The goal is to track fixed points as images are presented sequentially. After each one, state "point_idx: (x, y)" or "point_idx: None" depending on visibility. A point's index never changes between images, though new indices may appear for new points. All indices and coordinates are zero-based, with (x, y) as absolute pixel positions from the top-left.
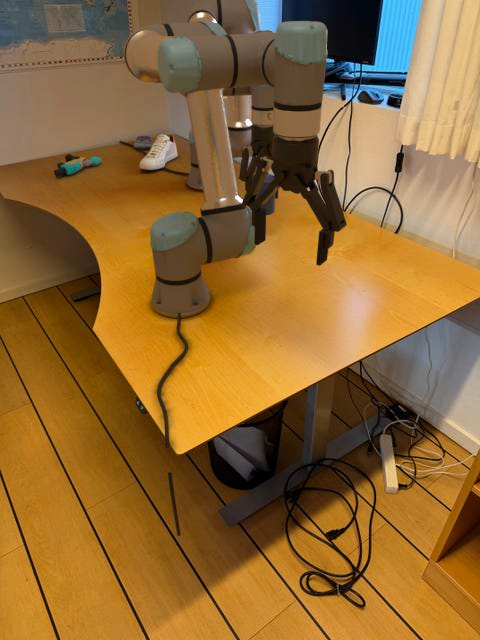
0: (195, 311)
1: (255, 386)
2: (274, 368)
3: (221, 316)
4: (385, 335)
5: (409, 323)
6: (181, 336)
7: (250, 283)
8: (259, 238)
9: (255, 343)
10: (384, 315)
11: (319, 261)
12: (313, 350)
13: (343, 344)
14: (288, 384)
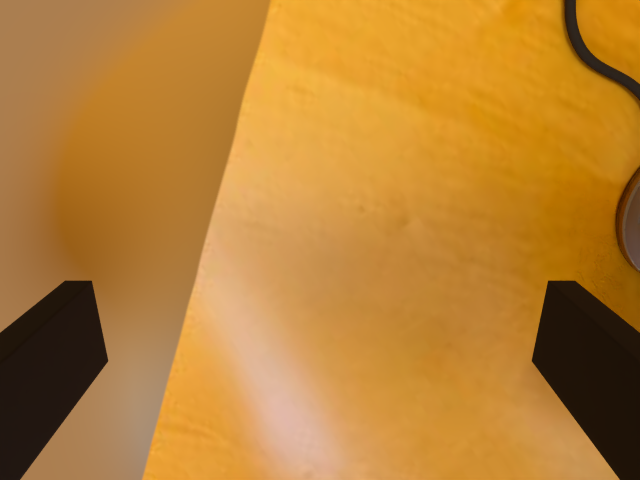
0: (637, 185)
1: (329, 38)
2: (328, 127)
3: (559, 219)
4: (189, 370)
5: (172, 428)
6: (616, 72)
7: None
8: (567, 323)
9: (420, 180)
10: (227, 425)
11: (51, 294)
12: (287, 240)
13: (244, 296)
14: (267, 98)
